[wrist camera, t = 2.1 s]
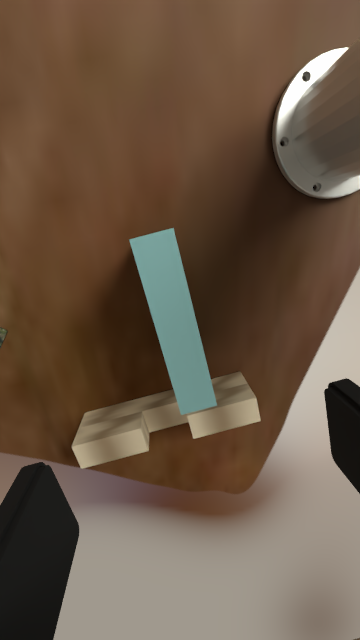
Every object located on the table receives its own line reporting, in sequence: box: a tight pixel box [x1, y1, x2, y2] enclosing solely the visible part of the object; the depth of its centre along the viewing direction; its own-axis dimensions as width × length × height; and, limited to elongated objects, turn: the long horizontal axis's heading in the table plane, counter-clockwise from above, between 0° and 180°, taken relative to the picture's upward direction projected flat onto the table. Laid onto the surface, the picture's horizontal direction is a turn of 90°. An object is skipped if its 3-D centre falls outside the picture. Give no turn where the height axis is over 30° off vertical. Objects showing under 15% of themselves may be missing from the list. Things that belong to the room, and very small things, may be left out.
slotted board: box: [72, 371, 261, 469], centre depth 34 cm, size 20×3×6 cm, turn 104°
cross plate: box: [129, 228, 217, 415], centre depth 27 cm, size 14×3×12 cm, turn 14°
